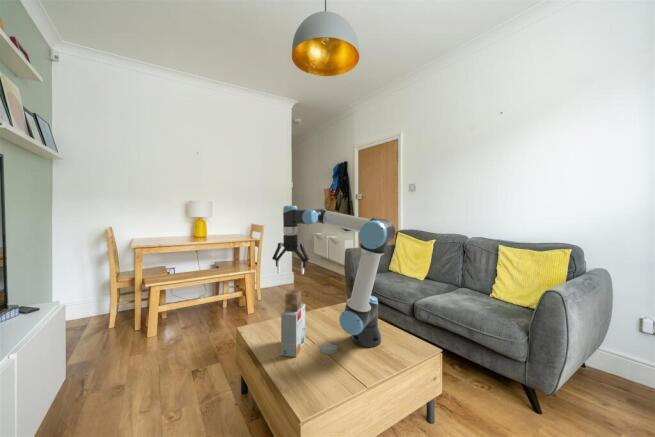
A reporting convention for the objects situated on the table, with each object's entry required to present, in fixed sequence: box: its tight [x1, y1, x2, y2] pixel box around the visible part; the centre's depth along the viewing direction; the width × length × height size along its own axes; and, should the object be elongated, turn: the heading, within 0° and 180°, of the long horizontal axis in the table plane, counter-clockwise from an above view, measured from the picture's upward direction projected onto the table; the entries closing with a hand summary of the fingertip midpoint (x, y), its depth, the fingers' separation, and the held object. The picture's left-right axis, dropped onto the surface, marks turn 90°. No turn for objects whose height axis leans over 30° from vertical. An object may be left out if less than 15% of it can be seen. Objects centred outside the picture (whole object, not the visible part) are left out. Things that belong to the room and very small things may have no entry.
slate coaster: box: [319, 342, 339, 355], centre depth 131 cm, size 9×9×1 cm
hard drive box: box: [280, 303, 306, 358], centre depth 131 cm, size 16×8×20 cm, turn 168°
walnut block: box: [284, 289, 302, 312], centre depth 130 cm, size 6×6×8 cm
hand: (290, 273), depth 146 cm, fingers open, 13 cm apart
